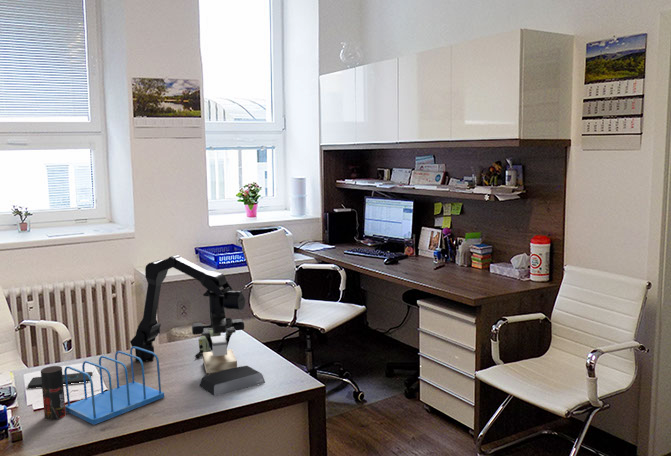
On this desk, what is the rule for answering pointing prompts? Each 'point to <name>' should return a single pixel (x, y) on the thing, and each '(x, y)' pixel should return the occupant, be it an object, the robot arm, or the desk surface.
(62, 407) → the deodorant
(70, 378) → the smart home device
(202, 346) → the handheld radio
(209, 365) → the cream rectangular block
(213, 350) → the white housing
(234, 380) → the external hard drive
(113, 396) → the file sorter
